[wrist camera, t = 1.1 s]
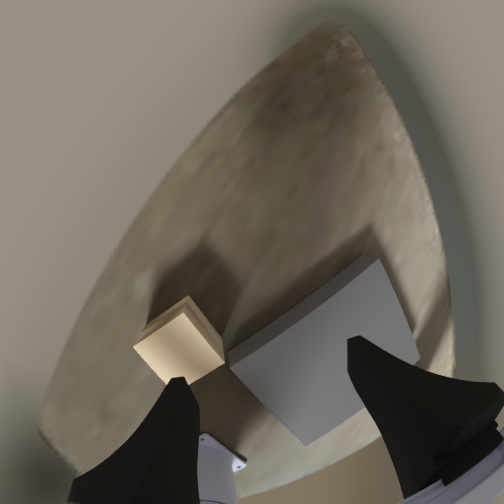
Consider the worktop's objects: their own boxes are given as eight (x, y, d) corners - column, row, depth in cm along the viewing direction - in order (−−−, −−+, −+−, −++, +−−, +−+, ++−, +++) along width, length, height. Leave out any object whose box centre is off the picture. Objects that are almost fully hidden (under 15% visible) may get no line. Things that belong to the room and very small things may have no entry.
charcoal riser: (298, 429, 27) (305, 445, 24) (227, 352, 25) (229, 367, 22) (405, 348, 28) (420, 358, 25) (362, 254, 26) (379, 258, 23)
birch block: (179, 363, 24) (174, 392, 19) (146, 324, 23) (133, 346, 18) (221, 337, 24) (224, 362, 20) (188, 294, 24) (183, 312, 19)
